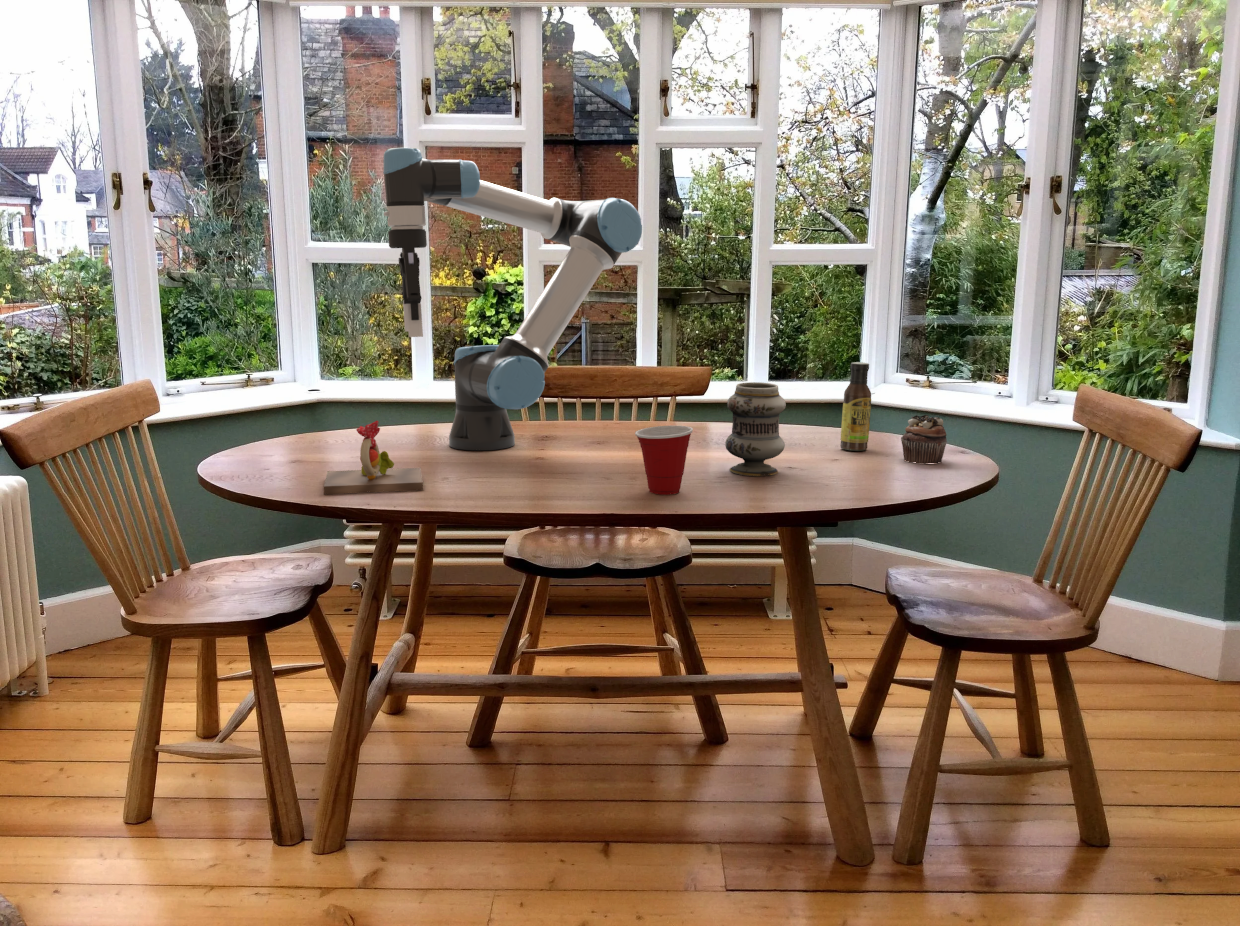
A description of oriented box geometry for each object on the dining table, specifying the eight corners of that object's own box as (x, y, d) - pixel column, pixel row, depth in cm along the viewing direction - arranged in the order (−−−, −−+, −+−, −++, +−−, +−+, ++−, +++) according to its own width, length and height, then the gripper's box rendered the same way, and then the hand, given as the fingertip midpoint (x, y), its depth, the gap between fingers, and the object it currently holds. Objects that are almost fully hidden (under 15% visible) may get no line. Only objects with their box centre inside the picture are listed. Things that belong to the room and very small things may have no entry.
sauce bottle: (850, 452, 234) (854, 364, 230) (834, 448, 240) (838, 362, 236) (874, 451, 237) (878, 363, 233) (857, 446, 242) (862, 361, 239)
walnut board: (420, 474, 209) (420, 467, 209) (423, 490, 196) (422, 482, 195) (327, 478, 205) (327, 471, 205) (323, 494, 192) (323, 486, 191)
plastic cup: (630, 486, 200) (631, 424, 198) (685, 484, 201) (687, 423, 199) (638, 498, 189) (639, 433, 187) (697, 497, 191) (698, 432, 188)
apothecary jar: (746, 480, 206) (748, 389, 202) (713, 469, 216) (715, 382, 213) (795, 474, 211) (799, 386, 208) (761, 463, 222) (763, 379, 218)
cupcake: (953, 460, 226) (956, 415, 224) (932, 467, 219) (935, 420, 217) (913, 454, 233) (915, 410, 231) (891, 460, 226) (894, 415, 224)
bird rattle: (388, 490, 198) (396, 462, 205) (381, 441, 192) (389, 415, 199) (355, 490, 198) (365, 463, 205) (347, 441, 192) (356, 415, 199)
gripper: (385, 229, 221) (392, 329, 225) (390, 227, 197) (398, 340, 201) (421, 228, 222) (427, 328, 227) (430, 227, 199) (437, 338, 203)
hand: (413, 334), depth 214 cm, fingers open, 13 cm apart
